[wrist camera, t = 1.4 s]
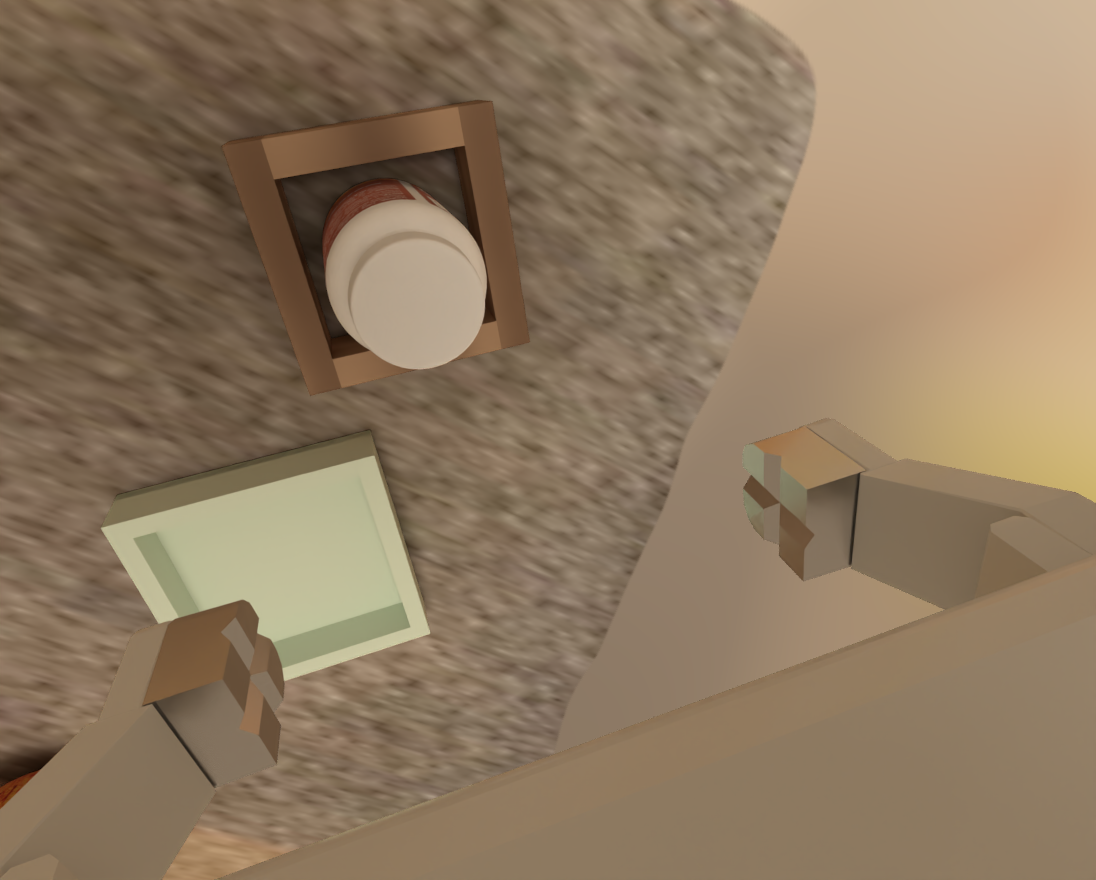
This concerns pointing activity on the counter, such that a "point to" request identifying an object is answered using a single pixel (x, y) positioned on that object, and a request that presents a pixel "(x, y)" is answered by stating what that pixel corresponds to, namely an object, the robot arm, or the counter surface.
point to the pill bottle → (403, 274)
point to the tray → (280, 551)
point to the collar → (365, 142)
